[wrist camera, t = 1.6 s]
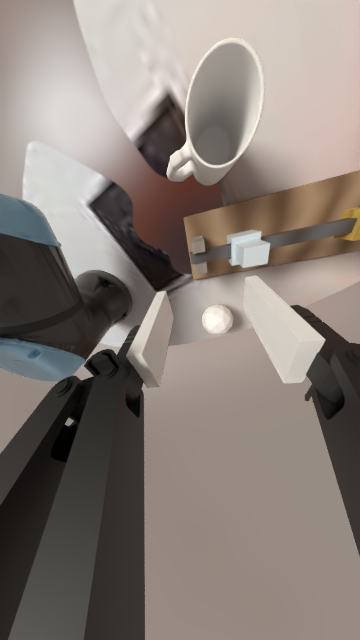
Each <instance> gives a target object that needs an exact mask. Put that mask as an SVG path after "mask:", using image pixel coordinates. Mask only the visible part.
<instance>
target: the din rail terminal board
mask: <svg viewBox="0 0 360 640" xmlns="http://www.w3.org/2000/svg"><path fill="white" fill-rule="evenodd" d="M184 224H185V230H186V236H187V243H188V248H189V255H190V260H191V267H192V274H193V280H194V279H200V278H206V277H211V276H217V275H222V274H228V273H234V272H239V271H245V270H250V269H256V268H262V267H267V266H273V265H279V264H284V263H290V262H295V261H301V260H307V259H312V258H318V257H323V256H329V255H335V254H340V253H346V252H351V251H357V250H360V170H359V171H355V172H352V173H348V174H344V175H341V176H337V177H333V178H329V179H326V180H322V181H318V182H314V183H311V184H307V185H303V186H299V187H296V188H292V189H288V190H285V191H281V192H277V193H273V194H270V195H266V196H262V197H258V198H255V199H251V200H247V201H243V202H240V203H236V204H232V205H228V206H225V207H221V208H217V209H214V210H210V211H206V212H202V213H199V214H195V215H191V216H187V217H184ZM248 230H257V231H261V240H262V241H265V242H268V243H270V249H269V256H268V263H267V264H263V265H257V266H252V267H246V268H242V267H241V266H240V264H239V265H233V266H232V265H231V264H230V263H229V261H228V260H227V257H231V243H230V244H227V235H230V234H235V233H239V232H244V231H248Z"/></svg>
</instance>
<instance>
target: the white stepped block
mask: <svg viewBox="0 0 360 640" xmlns="http://www.w3.org/2000/svg"><path fill="white" fill-rule="evenodd" d="M230 243H231V257H227V260H228V261H229V263H230V264H231V265H232V266H233V265H239V264H240V266H241V267H242V268H246V267H252V266H257V265H263V264H267V263H268V256H269V249H270V243H268V242H265V241H262V240H261V231H257V230H248V231H244V232H239V233H235V234H230V235H227V244H230Z"/></svg>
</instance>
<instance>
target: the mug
mask: <svg viewBox="0 0 360 640" xmlns="http://www.w3.org/2000/svg"><path fill="white" fill-rule="evenodd" d="M264 95H265V81H264V73H263V68H262V65H261V62H260V59H259V57H258V55H257V53H256V51H255V50H254V49H253V47H252V46H251V45H250V44H249V43H247V42H246V41H244V40H242V39H239V38H228V39H224V40H222V41H220V42H218V43H217V44H216V45H214V46H213V47H212V48H211V49H210V50H209V51H208V52H207V53H206V54H205V56H204V57H203V59H202V60H201V62H200V63H199V65H198V67H197V69H196V71H195V73H194V75H193V78H192V81H191V84H190V87H189V91H188V95H187V101H186V110H185V126H186V134H187V140H186V143H185V145H184V146H183V147H182V148H181V149H180V150H178V151H176V152H175V153H174V154H172V155H171V156H170V163H169V165H168V168H167V176H168V179H169V180H171V181H183V180H185V179H186V178H187V177H189V176H190V175H192V174H194V177H195V178H196V180H197V181H198V182H199V183H201V184H202V185H205V186H210V185H214V184H216V183H217V182H219V181H220V180H221V179H222V178H223V177H224V176H225V174H226V173H227V172H228V171H229V170H230V169H231V167H232V166H233V165H234V164H235V163H236V162H237V160H238V159H239V158H240V157H241V155H242V154H243V153H244V151H245V150H246V149H247V147H248V146H249V144H250V143H251V141H252V139H253V137H254V135H255V133H256V130H257V128H258V125H259V122H260V118H261V114H262V110H263V104H264ZM186 162H188V163H187V164H185V163H186ZM183 164H185V165H184V166H183V167H181V166H182V165H183ZM180 167H181V168H180ZM179 168H180V169H179Z"/></svg>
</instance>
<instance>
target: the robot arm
mask: <svg viewBox="0 0 360 640" xmlns="http://www.w3.org/2000/svg"><path fill="white" fill-rule="evenodd" d="M60 247H61V244H60V243H59V242H58V241H57V239H56V237H55V235H54V233H53V231H52V229H51V227H50V225H49V223H48V221H47V219H46V217H45V216H44V214H43V213H42V212H41V211H40V210H39V209H38V208H37V207H36V206H34V205H33V204H31V203H29V202H27V201H25V200H22V199H19V198H16V197H12V196H8V195H4V194H0V368H2V369H4V370H7V371H9V372H12V373H15V374H18V375H21V376H24V377H28V378H32V379H37V380H42V381H59V382H58V383H57V384H56V385H55V386H54V387H53V388H52V389H51V390H50V391H49V392H48V394H47V395H46V396H45V398H44V399H43V400H42V402H41V403H40V404H39V405H38V406H37V408H36V409H35V410H34V412H33V413H32V414H31V415H30V417H29V418H28V419H27V421H26V422H25V423H24V424H23V426H22V427H21V428H20V430H19V431H18V432H17V433H16V435H15V436H14V437H13V439H12V440H11V441H10V442H9V444H8V445H7V446H6V448H5V449H4V450H3V451H2V453H1V454H0V640H145V594H144V593H145V588H144V587H145V581H144V580H145V576H144V394H143V391H142V390H141V388H142V385H143V382H144V384H145V385H146V386H147V387H148V388H149V387H160V384H161V379H162V374H163V369H164V364H165V359H166V354H167V349H168V344H169V339H170V334H171V330H172V325H173V320H174V316H173V313H172V310H171V306H170V303H169V299H168V296H167V292H166V291H162V292H157V294H156V296H155V298H154V300H153V302H152V304H151V306H150V308H149V310H148V312H147V314H146V316H145V318H144V320H143V322H142V324H141V325H138V326H135V327H134V328H133V329H132V330H131V331H130V333H129V334H128V336H127V338H126V340H125V343H123V345H122V347H121V349H120V350H119V352H118V354H117V355H116V354H115V353H114V351H113V350H110V349H106V350H102V351H100V352H97V353H96V354H94V355H93V356H92V357H91V358H90V359H88V360H87V362H86V359H87V358H88V357H89V355H90V354H91V353H92V351H93V350H94V349H95V347H96V346H97V344H98V343H99V342H100V341H101V339H102V338H103V336H104V335H105V334H106V332H107V331H108V330H109V328H110V327H112V326H114V325H116V324H117V323H119V322H121V321H122V320H124V319H125V318H126V317H127V315H128V314H129V312H130V311H131V308H132V299H131V295H130V293H129V291H128V289H127V288H126V287H125V285H124V284H123V283H122V282H121V281H120V280H119V279H117V278H116V277H114V276H113V275H111V274H109V273H107V272H104V271H99V270H90V271H87V272H85V273H83V274H81V275H79V276H77V277H76V278H75V279H74V278H73V276H72V274H71V271H70V269H69V267H68V264H67V262H66V260H65V257H64V255H63V253H62V250H61V248H60ZM243 309H244V311H245V313H246V314H247V316H248V318H249V320H250V322H251V324H252V326H253V327H254V329H255V331H256V333H257V335H258V337H259V339H260V340H261V342H262V344H263V346H264V348H265V350H266V351H267V353H268V355H269V357H270V359H271V361H272V363H273V364H274V366H275V368H276V370H277V372H278V374H279V375H280V377H281V379H282V381H283V383H302V382H303V380H304V378H305V377H306V375H307V377H308V378H309V379H310V381H311V382H312V385H311V387H310V388H309V390H308V392H307V393H306V395H305V400H306V401H309V399H310V397H311V396H312V399H313V402H314V405H315V409H316V412H317V415H318V419H319V422H320V425H321V429H322V432H323V435H324V439H325V442H326V445H327V449H328V452H329V455H330V458H331V462H332V465H333V469H334V472H335V475H336V479H337V482H338V485H339V489H340V492H341V495H342V499H343V502H344V505H345V509H346V512H347V515H348V519H349V522H350V525H351V529H352V532H353V535H354V539H355V542H356V545H357V548H358V552H359V555H360V344H356V343H349V342H348V341H346V340H345V339H344V338H343V337H341V336H340V335H339V334H338V333H336V332H335V331H334V330H333V329H331V328H330V327H329V326H328V325H327V324H325V323H324V322H322V321H321V320H320V319H319V318H318V317H315V315H314V314H313V313H312V312H310V311H309V310H308V309H306V308H303V307H301V306H299V305H293V306H289V305H288V304H287V303H286V302H284V301H283V300H282V299H281V298H280V297H279V296H278V295H277V294H276V293H275V292H274V291H273V290H272V289H270V288H269V287H268V286H267V285H266V284H265V283H264V282H263V281H262V280H261V279H260V278H259V277H258V276H250V277H245V289H244V306H243ZM85 362H86V363H85ZM84 363H85V365H84V367H86V369H87V370H89V371H90V372H91V374H92V375H93V377H91V378H88V379H85V380H82V381H81V380H80V379H79V378H78V377H76V376H72V375H73V374H74V373H75V372H76V371H77V370H78V369H79V367H80V366H81V365H82V364H84ZM68 417H69V418H71V419H72V420H74V422H73V423H72V424H71V425H70V426H66V425H64V424H65V423H66V421H67V419H68Z"/></svg>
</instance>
